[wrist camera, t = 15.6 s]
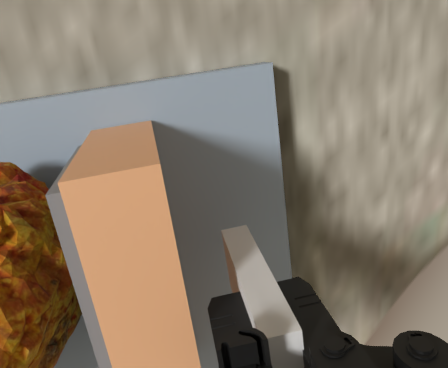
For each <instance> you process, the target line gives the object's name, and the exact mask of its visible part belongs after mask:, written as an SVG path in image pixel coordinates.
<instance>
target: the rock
mask: <svg viewBox="0 0 448 368" xmlns="http://www.w3.org/2000/svg"><path fill="white" fill-rule="evenodd" d="M48 190H49V189H48V188H47V186H46V184H45V182H42V181H38V180H37V179H35V178H34V177H32V176H31V175H29V174H28V173H26V172H24V171H23V170H22V169H20V168H19V167H18V166H17V165H15V164H13V163H11V162H0V368H53V367H54V366H55V365H56V364H57V361H58V359H59V357H60V355H61V353H62V351H63V349H64V347H65V345H66V343H67V340H68V339H69V338H70V336H71V335H72V334H73V332H74V330H75V328H76V326H77V324H78V322H79V320H80V317H81V315H82V312H81V309H80V305H79V302H78V299H77V296H76V292H75V289H74V286H73V283H72V280H71V276H70V273H69V270H68V267H67V263H66V260H65V257H64V254H63V251H62V247H61V244H60V241H59V238H58V234H57V231H56V228H55V225H54V222H53V218H52V215H51V212H50V209H49V205H48V202H47V199H46V196H45V195H46V193H47V192H48Z"/></svg>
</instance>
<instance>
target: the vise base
mask: <svg viewBox="0 0 448 368" xmlns="http://www.w3.org/2000/svg"><path fill="white" fill-rule="evenodd" d="M150 120H151V122H152V127H153V132H154V136H155V141H156V146H157V151H158V155H159V160H160V165H161V170H162V175H163V180H164V185H165V190H166V195H167V200H168V205H169V210H170V215H171V220H172V225H173V230H174V235H175V240H176V245H177V250H178V255H179V260H180V265H181V270H182V275H183V280H184V285H185V290H186V295H187V300H188V305H189V310H190V315H191V320H192V325H193V330H194V335H195V340H196V345H197V350H198V355H199V360H200V365H201V368H219V364H218V359H217V354H216V349H215V344H214V339H213V334H212V329H211V324H210V319H209V314H208V309H207V308H208V306H209V303H210V301H211V298H213V297H217V296H222V295H226V294H231V293H233V292H232V289H231V286H230V280H229V274H228V268H227V262H226V256H225V251H224V245H223V239H222V233H221V230H224V229H229V228H234V227H238V226H243V225H247V227H248V229H249V231H250V233H251V235H252V237H253V239H254V240H255V242H256V244H257V246H258V248H259V250H260V252H261V254H262V256H263V257H264V259H265V261H266V263H267V265H268V267H269V269H270V271H271V272H272V274H273V276H274V278H275V280H276V282H278V281H283V280H287V279H291V278H292V271H291V260H290V249H289V238H288V227H287V216H286V205H285V194H284V183H283V173H282V162H281V151H280V140H279V129H278V118H277V107H276V96H275V85H274V74H273V63H271V62H262V63H256V64H249V65H243V66H236V67H230V68H223V69H217V70H211V71H204V72H198V73H191V74H185V75H178V76H172V77H165V78H159V79H152V80H146V81H139V82H133V83H127V84H120V85H114V86H107V87H101V88H94V89H88V90H81V91H75V92H68V93H62V94H55V95H49V96H43V97H36V98H30V99H23V100H17V101H10V102H4V103H0V162H11V163H13V164H15V165H17V166H18V167H19V168H20V169H22V170H23V171H24V172H26V173H28V174H29V175H31V176H32V177H34V178H35V179H37V180H38V181H42V182H45V184H46V186H47V188H48V189H50V188H51V186H52V185H53V183H54V182H55V180H56V179H57V177H58V176H59V174H60V173H61V171H62V170H63V168H64V167H65V165H66V164H67V162H68V161H69V159H70V158H71V156H72V155H73V153H74V152H75V150H76V149H77V147H78V146H81V145H82V144H83V142H84V141H85V139H86V138H87V136H88V134H89V133H90V131H91V130H97V129H103V128H109V127H115V126H120V125H126V124H132V123H138V122H144V121H150ZM53 368H99V367H98V363H97V360H96V357H95V354H94V350H93V347H92V344H91V341H90V338H89V334H88V331H87V328H86V325H85V321H84V318H83V315H81V317H80V320H79V322H78V324H77V326H76V328H75V330H74V332H73V334H72V335H71V336H70V338H69V339H68V340H67V343H66V345H65V347H64V349H63V351H62V353H61V355H60V357H59V359H58V361H57V364H56V365H55V366H54V367H53Z"/></svg>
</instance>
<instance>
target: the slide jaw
mask: <svg viewBox="0 0 448 368" xmlns="http://www.w3.org/2000/svg"><path fill="white" fill-rule="evenodd" d="M45 196H46V199H47V202H48V205H49V209H50V212H51V215H52V218H53V222H54V225H55V228H56V231H57V234H58V238H59V241H60V244H61V247H62V251H63V254H64V257H65V260H66V263H67V267H68V270H69V273H70V276H71V280H72V283H73V286H74V289H75V292H76V296H77V299H78V302H79V305H80V309H81V312H82V315H83V318H84V321H85V325H86V328H87V331H88V334H89V338H90V341H91V344H92V347H93V350H94V354H95V357H96V360H97V363H98V367H99V368H201V365H200V360H199V355H198V350H197V345H196V340H195V335H194V330H193V325H192V320H191V315H190V310H189V305H188V300H187V295H186V290H185V285H184V280H183V275H182V270H181V265H180V260H179V255H178V250H177V245H176V240H175V235H174V230H173V225H172V220H171V215H170V210H169V205H168V200H167V195H166V190H165V185H164V180H163V175H162V170H161V165H160V160H159V155H158V151H157V146H156V141H155V136H154V132H153V127H152V122H151V120H150V121H144V122H138V123H132V124H126V125H120V126H115V127H109V128H103V129H97V130H91V131H90V133H89V134H88V136H87V138H86V139H85V141H84V142H83V144H82V145H81V146H78V147H77V149H76V150H75V152H74V153H73V155H72V156H71V158H70V159H69V161H68V162H67V164H66V165H65V167H64V168H63V170H62V171H61V173H60V174H59V176H58V177H57V179H56V180H55V182H54V183H53V185H52V186H51V188H50V189H49V190H48V192H47V193H46V195H45Z"/></svg>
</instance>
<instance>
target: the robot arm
mask: <svg viewBox="0 0 448 368" xmlns="http://www.w3.org/2000/svg"><path fill="white" fill-rule="evenodd" d="M221 233H222V239H223V245H224V251H225V256H226V262H227V268H228V274H229V280H230V286H231V289H232V292H233V293H231V294H226V295H222V296H217V297H213V298H211V301H210V303H209V306H208V308H207V309H208V314H209V319H210V324H211V329H212V334H213V339H214V344H215V349H216V354H217V359H218V364H219V368H448V343H446V342H445V341H443V340H442V339H440V338H438V337H436V336H434V335H432V334H430V333H427V332H422V331H407V332H403V333H400V334H399V335H398V336H397V337H396V338H395V339H394V342H393V347H389V346H388V347H387V346H366V345H362V344H359V342H358V341H357V340H356V339H355V338H353V337H352V336H351V335H349V334H346V333H344V332H341V330H340V329H339V327H338V326H337V324H336V323H335V321H334V320H333V318H332V317H331V315H330V314H329V312H328V311H327V309H326V308H325V306H324V305H323V303H321V300H320V299H319V297H318V296H317V295H316V293H315V291H314V290H313V288H312V287H311V285H310V284H309V283H307V282H306V281H304V280H302V279H301V278H299V277H296V278H291V279H287V280H283V281H278V282H276V280H275V278H274V276H273V274H272V272H271V271H270V269H269V267H268V265H267V263H266V261H265V259H264V257H263V256H262V254H261V252H260V250H259V248H258V246H257V244H256V242H255V240H254V239H253V237H252V235H251V233H250V231H249V229H248V227H247V225H243V226H238V227H234V228H229V229H224V230H221Z"/></svg>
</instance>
